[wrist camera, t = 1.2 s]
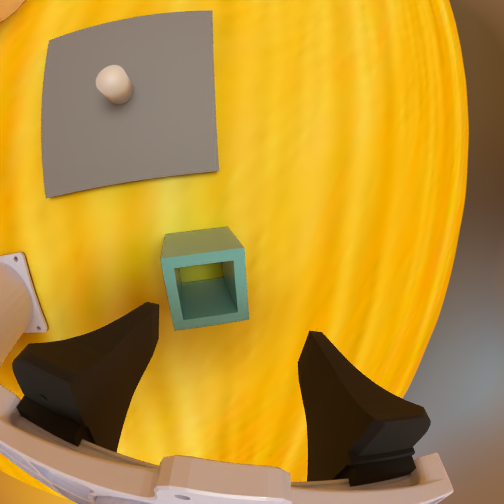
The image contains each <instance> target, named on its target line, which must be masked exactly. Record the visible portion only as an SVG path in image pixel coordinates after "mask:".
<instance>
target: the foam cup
mask: <svg viewBox="0 0 504 504" xmlns="http://www.w3.org/2000/svg"><path fill="white" fill-rule="evenodd" d="M24 1H25V0H0V22H1V21H3V20H5V19H6V18H8V17H9V16H10V15H11V14H13V13H14V12H15V11H16V10H17V9H18V8H19V7H20V6H21V5H22V4H23V3H24Z"/></svg>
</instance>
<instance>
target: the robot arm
mask: <svg viewBox="0 0 504 504" xmlns="http://www.w3.org/2000/svg"><path fill="white" fill-rule="evenodd" d="M16 257H17V258H18V260H16ZM38 326H39V327H40V328H39V327H38ZM47 330H48V326H47V324H46V321H45V318H44V316H43V313H42V310H41V308H40V305H39V302H38V299H37V296H36V293H35V290H34V287H33V283H32V280H31V277H30V273H29V270H28V266H27V262H26V258H25V255H24V254H23V253H22V252H17V253H12V254H7V255H2V256H0V367H1V365H2V364H3V362H4V361H5V359H6V357H7V356H8V354H9V353H10V351H11V350H12V348H13V347H14V345H15V344H16V343H17V341H18V340H19V338H20V337H21V335H22V334H23V333H39V332H46V331H47ZM158 339H159V305H158V304H154V303H150V302H146V303H144V304H143V305H141V306H139V307H138V308H136V309H135V310H133V311H131V312H130V313H128V314H126V315H125V316H123V317H121V318H120V319H118V320H116V321H114V322H112V323H110V324H108V325H106V326H104V327H102V328H100V329H98V330H95V331H92V332H90V333H87V334H84V335H81V336H77V337H74V338H70V339H66V340H61V341H55V342H48V343H34V344H28V345H27V346H26V347H25V349H24V350H23V351H22V352H21V353H20V354H19V355H18V356H17V357H16V358H15V359H14V361H13V363H12V366H13V372H14V375H15V377H16V379H17V381H18V383H19V386H20V388H21V390H22V392H23V394H24V395H25V396H24V397H23V398H22V400H20V399H19V397H18V396H16V395H15V394H14V393H12V392H11V391H9V390H8V389H6V388H5V387H3V386H2V385H1V384H0V453H1V454H2V455H4V456H5V457H6V458H7V459H9V460H10V461H11V462H13V463H14V464H16V465H17V466H18V467H20V468H21V469H22V470H24V471H25V472H27V473H28V474H30V475H31V476H33V477H34V478H36V479H37V480H39V481H40V482H42V483H43V484H45V485H46V486H48V487H50V488H51V489H53V490H54V491H56V492H58V493H60V494H61V495H63V496H65V497H67V498H68V499H70V500H72V501H74V502H76V503H78V504H436V503H438V502H439V501H441V500H442V499H444V498H445V497H447V496H448V495H449V494H451V493H452V492H453V491H454V490H453V487H452V485H451V483H450V480H449V478H448V476H447V473H446V471H445V468H444V466H443V464H442V462H441V459H440V457H439V455H438V453H433V454H430V455H426V456H422V457H420V458H417V459H416V460H413V458H412V455H413V454H414V453H415V451H414V448H413V446H414V445H415V444H416V443H417V442H418V441H419V440H420V439H421V438H422V436H423V435H424V434H425V433H426V432H427V430H428V428H429V426H430V422H431V421H430V419H429V417H428V415H427V413H426V411H425V409H424V408H423V407H422V406H419V405H416V404H414V403H411V402H408V401H406V400H404V399H402V398H400V397H397V396H395V395H394V394H392V393H390V392H388V391H386V390H385V389H383V388H382V387H380V386H378V385H377V384H375V383H374V382H373V381H371V380H370V379H369V378H367V377H366V376H365V375H363V374H362V373H361V372H360V371H359V370H358V369H357V368H355V367H354V366H353V365H352V364H351V363H350V362H349V361H348V360H347V359H346V358H345V357H344V356H343V355H342V354H341V353H340V352H339V351H338V349H337V348H336V347H335V346H334V345H333V344H332V343H331V342H330V341H329V339H328V338H327V337H326V336H325V335H324V334H323V333H322V332H316V331H309V334H308V336H307V339H306V342H305V345H304V347H303V350H302V353H301V355H300V358H299V361H298V375H299V384H300V389H301V394H302V399H303V404H304V409H305V414H306V421H307V435H308V475H307V482H291V480H290V473H288V472H286V471H284V470H282V469H281V468H278V467H271V466H263V465H249V464H239V463H230V462H222V461H215V460H209V459H203V458H197V457H191V456H181V455H175V456H169V457H165V458H163V460H162V461H161V463H160V466H158V465H154V464H151V463H147V462H144V461H140V460H137V459H134V458H131V457H128V456H125V455H122V454H119V453H116V452H117V448H118V443H119V439H120V435H121V431H122V428H123V424H124V421H125V417H126V414H127V411H128V408H129V405H130V402H131V399H132V396H133V394H134V391H135V389H136V387H137V385H138V383H139V381H140V379H141V377H142V375H143V373H144V371H145V369H146V367H147V365H148V363H149V361H150V359H151V357H152V355H153V353H154V350H155V347H156V344H157V341H158Z"/></svg>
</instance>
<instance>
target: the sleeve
mask: <svg viewBox="0 0 504 504" xmlns="http://www.w3.org/2000/svg"><path fill="white" fill-rule="evenodd" d="M217 262H222V266H223V278H216V279H209V280H202V281H194V282H187V283H181V278H180V272H179V268H180V267H187V266H195V265H202V264H210V263H217ZM161 264H162V270H163V276H164V282H165V287H166V292H167V297H168V302H169V307H170V312H171V317H172V321H173V326H174V330H175V331H176V330H183V329H191V328H198V327H205V326H211V325H218V324H224V323H230V322H236V321H242V320H248V319H249V312H248V297H247V282H246V267H245V252H244V247H243V246H242V244H241V243H240V242H239V240H238V239H237V238H236V237H235V235H234V234H233V233H232V232H231V230H230V229H229V228H228V227H220V228H212V229H203V230H195V231H187V232H179V233H171V234H165V239H164V244H163V248H162V254H161Z"/></svg>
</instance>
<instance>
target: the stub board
mask: <svg viewBox="0 0 504 504" xmlns="http://www.w3.org/2000/svg"><path fill="white" fill-rule="evenodd" d="M41 143H42V164H43V176H44V186H45V195H46V198H50V197H54V196H59V195H63V194H68V193H72V192H77V191H82V190H87V189H92V188H97V187H102V186H108V185H113V184H119V183H125V182H132V181H138V180H145V179H152V178H159V177H167V176H175V175H184V174H193V173H203V172H214V171H219V164H218V147H217V130H216V110H215V88H214V62H213V23H212V11H186V12H173V13H163V14H154V15H147V16H140V17H134V18H128V19H123V20H118V21H113V22H109V23H105V24H101V25H97V26H93V27H89V28H86V29H82V30H79V31H76V32H72V33H69V34H66V35H63V36H60V37H58V38H55V39H52V40H50V41H49V44H48V50H47V57H46V64H45V72H44V81H43V93H42V113H41Z"/></svg>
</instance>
